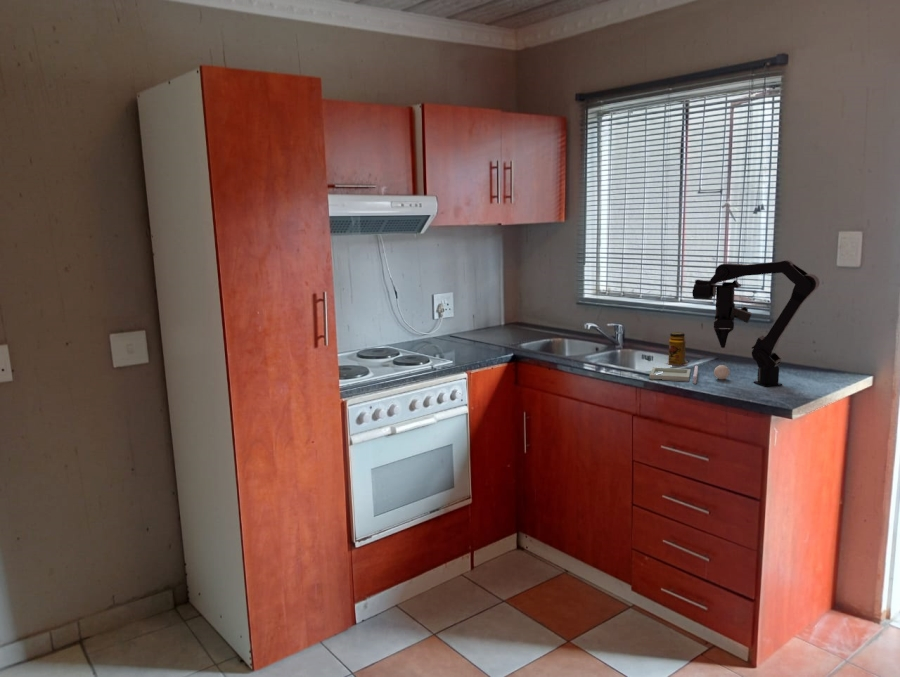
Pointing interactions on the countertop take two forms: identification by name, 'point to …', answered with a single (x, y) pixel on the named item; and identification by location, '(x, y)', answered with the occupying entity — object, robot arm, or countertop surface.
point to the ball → (721, 372)
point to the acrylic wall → (695, 374)
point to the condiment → (677, 349)
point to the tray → (671, 374)
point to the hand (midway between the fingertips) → (723, 345)
